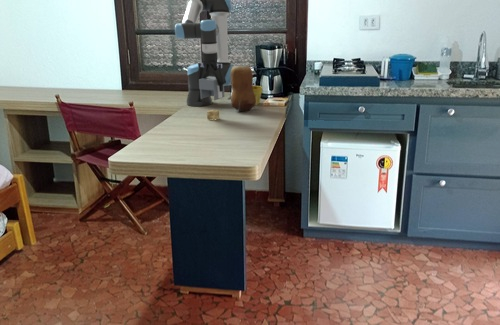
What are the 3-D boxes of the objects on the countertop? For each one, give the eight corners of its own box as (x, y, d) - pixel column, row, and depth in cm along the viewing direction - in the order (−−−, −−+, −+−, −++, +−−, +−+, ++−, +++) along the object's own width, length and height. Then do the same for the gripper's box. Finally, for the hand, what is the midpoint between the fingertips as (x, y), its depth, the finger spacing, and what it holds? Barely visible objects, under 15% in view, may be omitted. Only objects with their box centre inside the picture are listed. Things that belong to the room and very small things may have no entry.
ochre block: (207, 119, 252) (206, 111, 250) (212, 118, 255) (211, 109, 254) (214, 120, 250) (214, 112, 248) (219, 118, 253) (219, 110, 252)
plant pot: (260, 105, 280) (260, 89, 276) (243, 105, 282) (242, 88, 278) (263, 102, 289) (263, 85, 286) (246, 101, 291) (246, 85, 288)
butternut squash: (243, 106, 278) (242, 62, 270) (260, 110, 269) (259, 64, 261) (225, 111, 269) (223, 65, 261) (242, 114, 260) (241, 67, 252)
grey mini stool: (200, 98, 248) (198, 79, 244) (210, 95, 255) (209, 76, 251) (214, 100, 243) (213, 80, 240) (224, 96, 250) (223, 77, 247)
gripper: (187, 52, 244) (190, 96, 251) (223, 54, 233) (225, 100, 241) (196, 50, 250) (199, 93, 257) (232, 52, 239) (234, 97, 247)
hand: (212, 96), depth 249 cm, fingers closed on grey mini stool, 9 cm apart
